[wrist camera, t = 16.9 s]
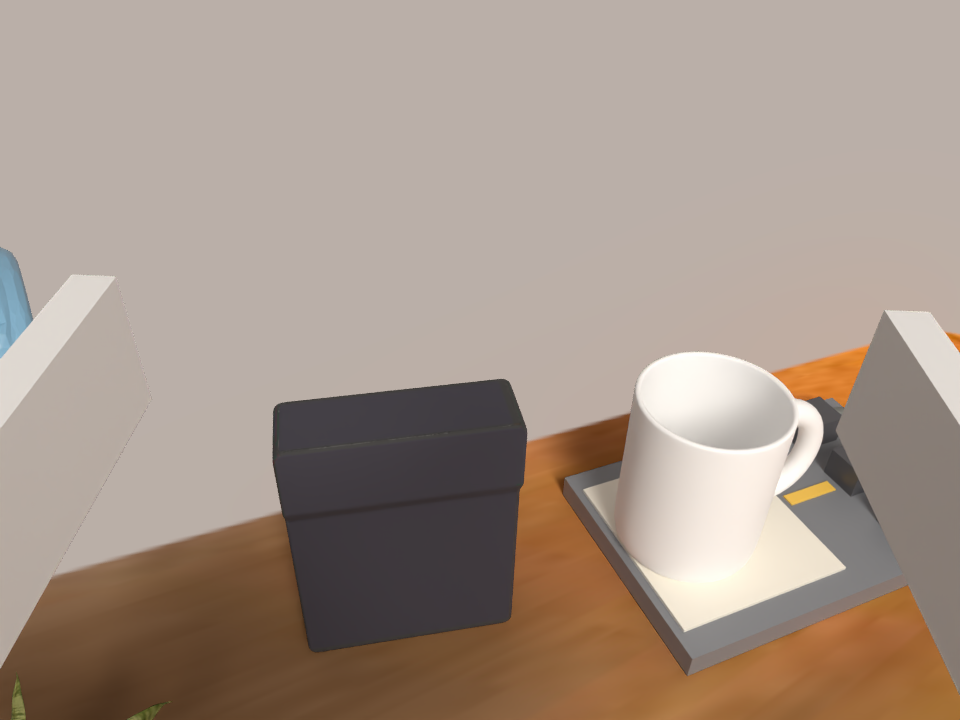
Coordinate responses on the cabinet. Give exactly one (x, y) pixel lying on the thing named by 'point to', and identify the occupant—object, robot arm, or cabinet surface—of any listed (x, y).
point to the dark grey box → (401, 509)
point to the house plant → (18, 710)
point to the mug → (707, 462)
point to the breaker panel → (759, 560)
